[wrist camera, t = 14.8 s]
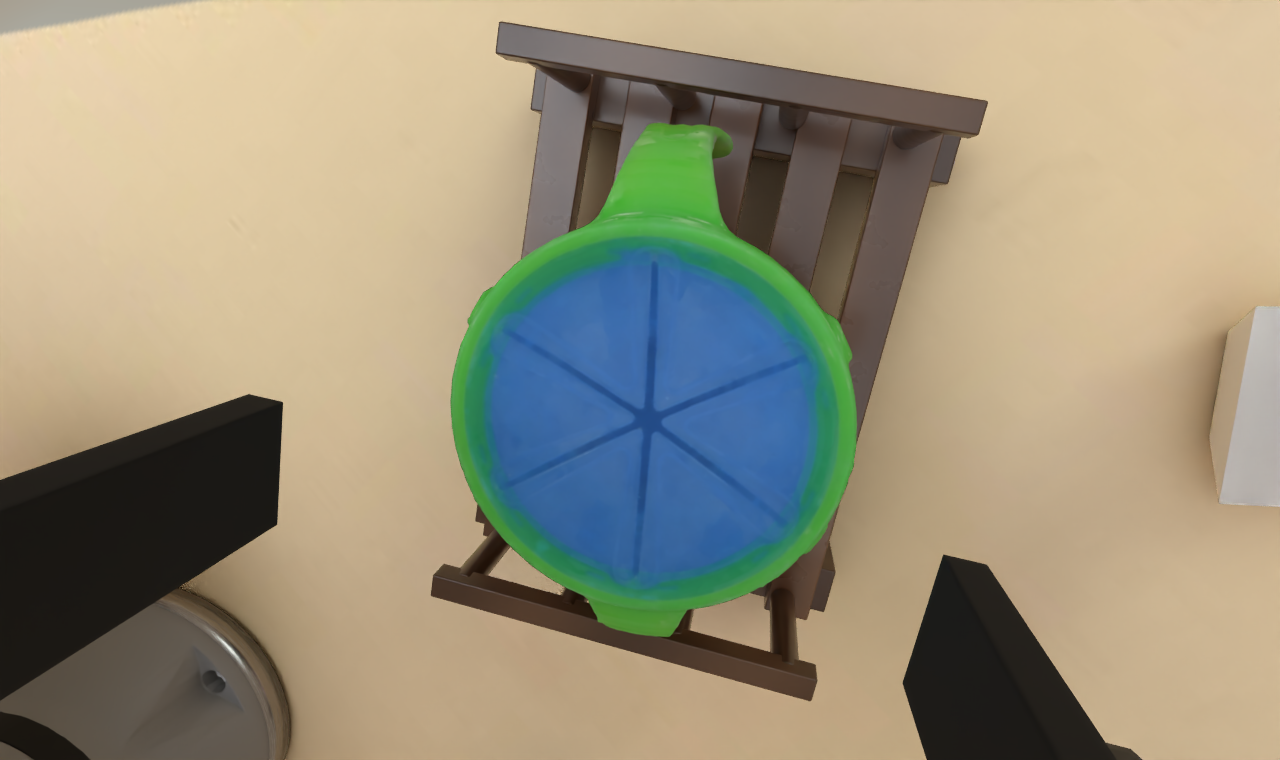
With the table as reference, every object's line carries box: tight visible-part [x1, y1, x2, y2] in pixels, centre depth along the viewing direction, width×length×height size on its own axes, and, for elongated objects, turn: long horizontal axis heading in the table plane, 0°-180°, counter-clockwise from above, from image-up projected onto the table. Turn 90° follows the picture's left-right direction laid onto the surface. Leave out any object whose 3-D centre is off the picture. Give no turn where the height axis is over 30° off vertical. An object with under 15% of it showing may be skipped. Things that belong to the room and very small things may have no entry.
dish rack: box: [431, 22, 988, 701], centre depth 27 cm, size 16×20×10 cm
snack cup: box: [451, 123, 857, 637], centre depth 22 cm, size 16×10×10 cm
